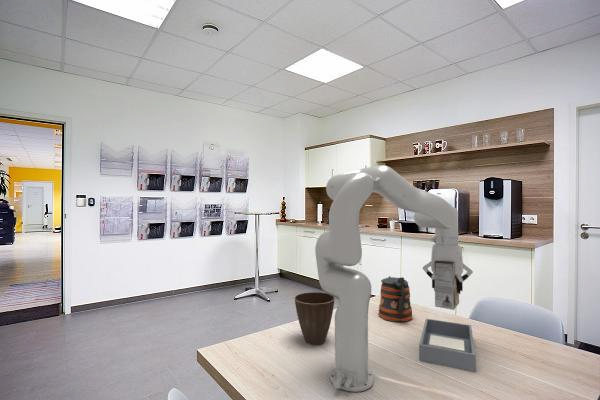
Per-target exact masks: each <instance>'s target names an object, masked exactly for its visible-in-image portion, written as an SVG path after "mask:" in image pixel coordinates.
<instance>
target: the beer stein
mask: <svg viewBox="0 0 600 400" xmlns="http://www.w3.org/2000/svg"><path fill="white" fill-rule="evenodd" d="M380 282H381V286H380V290H379V291H380V292H379V293H380V303H379V305H378V316H379V318H381V319H383V320H386V321H389V322H398V323H403V322H409V321H412V320H413V311H412V310H413V308H412V306H411V292H410V291H411V289H410V286H409V282H408V280H406V279H405V277H403V276H402V277H394V276H393V277H392V276H390V275H389V276H388V277H385V278H383V279H381V280H380Z"/></svg>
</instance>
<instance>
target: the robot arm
mask: <svg viewBox="0 0 600 400" xmlns="http://www.w3.org/2000/svg"><path fill="white" fill-rule="evenodd" d="M325 190H326V194H327V196H328V197H329V198H330V199H331V200H333V201H332V203H331V205H330V208H329V213H328V225H329V230H328V231H324V232H323V233H322V234H320V235H319V237H318V238H317V239H316V243H315V249H314V250H315V259H316V269H317V277H318V282H319V285H320V288H321V289H322V290H323V293H327V294H329V295H331V296H333V297H334V298H335V299H338V300H339V301H338V306H337V308H336V309H335V314H334V367H333V368H332V369H331V370H330V371H329V380H330V382H331V383H332V385H333V387H334V388H335V389H340V390H342V391H347V392H355V393H357V392H364V391H367V390H369V389H371V388H372V386H374V382H375V380H374V379H375V378H374V374H373V372H371V371H370V370H369V305H370V300H371V296H372V283H371V280H370V279H369V277H368V276H367V275H366V274H364V273H363V272H362V271H359V270H356V269H353V268H350V267H354V266H356V265H358V264H359V263H360V262H361V261H362V256H363V250H362V249H363V248H362V240H361V232H360V222H359V221H360V220H359V219H360V218H359V217H360V211H361V208H362V206H363V205H364V203H366V201H367V199H369V197H370V196H371V195H372V194H374V193H376V194H379V196H382V197H383V198H384V199H386V200H387V201H389V202H390V203H391V204H393V206H395V207H397V208H398V209H400V210H404V211H406V212H412V213H413V221H414V222H415V224H416V225H417V226H419V227H421V228H424V229H434V237H430V242H433V243H434V244H432V248H431V256H430V257H431V259H430V261H429V262H427V263H426V264H424V266H422V270H423V271H424V272H425V273H426V275H427V276H428V277H429V278H430V279H431V288H432V289H433V292H435V261H447V262H455V275H456V276H457V277H458V279H459V281H458V293H459V295H461V292H463V291H464V290H463V288H464V286H463V283H464V282H465V281H466V280H467V279H468V278H469V277H471V275H472V274H473V272H474V271H473V270H472V269H471V268H470V267H469V266H467V265H466V264H464V261H463V251H462V247H461V246H460V245H459V210H458V208H456V207H453V205H452V204H450V203H449V202H448V201H447V200H446V199H444V198H443V197H440V196H438V195H436V194H434V193H432V192H428V191H426V190H424V189H421V188H419V187H418V188H417V187H416V186H415V185H413V184H412V183H411V182H409V181H408V180H406V178H404V177H403V176H402V175H400V174H399V173H398V172H397V171H395V169H393V168H392V167H390V166H389V165H388V166H387V165H384V164H383V165H381V164H380V165H376V166H374V165H373V166H368V167H364V168H359V169H357V170H353V171H348V172H344V173H340V174H336V175H333V176H332V177H330V178H329V179H328V180H327V183H326V187H325ZM429 268H430V269H431V271H430V270H429ZM464 270H465V271H466V272H465V274H464ZM462 274H463V275H462Z"/></svg>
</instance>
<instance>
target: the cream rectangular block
mask: <svg viewBox="0 0 600 400" xmlns="http://www.w3.org/2000/svg"><path fill="white" fill-rule="evenodd" d="M429 346H434V347H440V348H445V349H450V350H456V351H461V352H465V351H464V340H458V339H452V338H446V337H440V336H435V335H431V337H430V342H429Z"/></svg>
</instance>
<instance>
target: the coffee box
mask: <svg viewBox="0 0 600 400" xmlns="http://www.w3.org/2000/svg"><path fill="white" fill-rule="evenodd" d="M458 281H459V279H458V277H457V276H456V275H455V262H447V261H435V291H434V307H435V308H440V309H447V310H452V311H455V309H457V307H458V305H459V304H460V294H459V293H458Z"/></svg>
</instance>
